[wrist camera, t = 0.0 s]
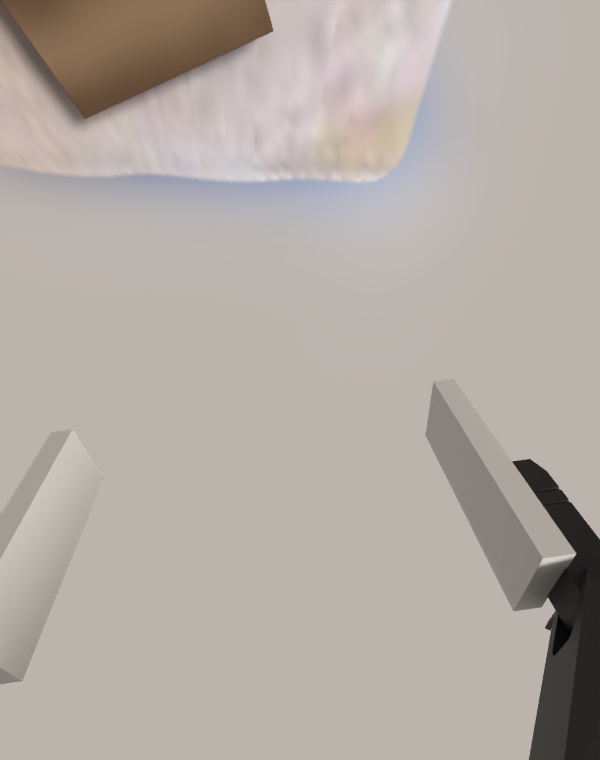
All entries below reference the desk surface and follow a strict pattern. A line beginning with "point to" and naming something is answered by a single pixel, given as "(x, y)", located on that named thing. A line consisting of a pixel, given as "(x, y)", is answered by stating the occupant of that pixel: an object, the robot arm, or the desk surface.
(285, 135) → the desk surface
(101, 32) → the walnut stand
